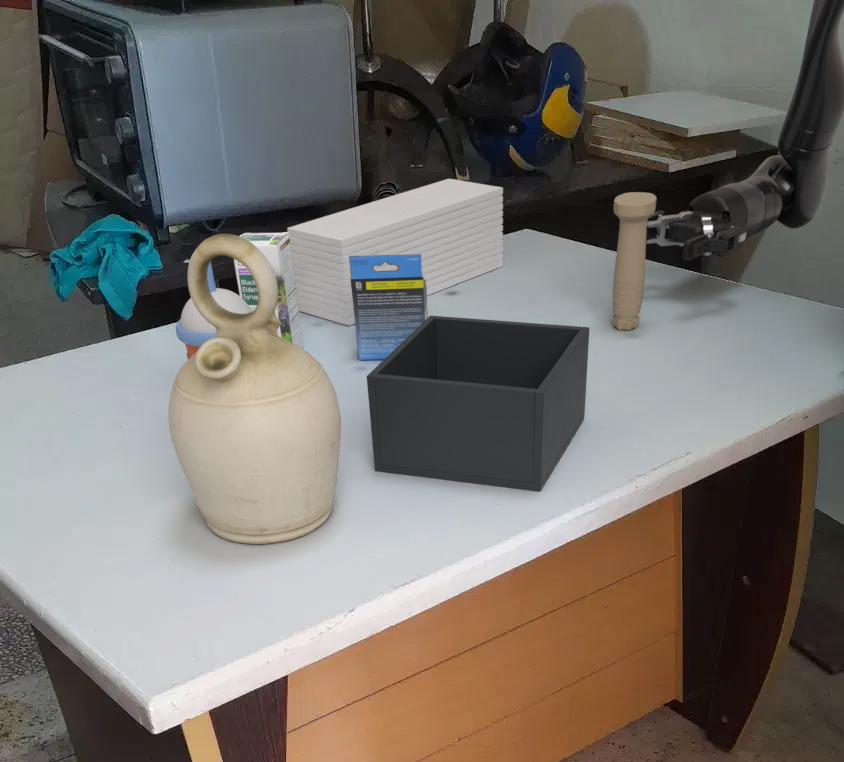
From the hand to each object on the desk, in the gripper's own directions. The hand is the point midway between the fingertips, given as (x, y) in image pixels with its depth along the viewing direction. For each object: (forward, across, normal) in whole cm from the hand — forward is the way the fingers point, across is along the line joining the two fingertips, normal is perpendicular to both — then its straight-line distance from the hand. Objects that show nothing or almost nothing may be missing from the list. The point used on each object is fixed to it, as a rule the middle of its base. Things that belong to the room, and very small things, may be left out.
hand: (656, 246), depth 129 cm
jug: (+68, +2, +9) cm, 68 cm away
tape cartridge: (+30, -18, +9) cm, 36 cm away
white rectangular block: (+11, -36, +9) cm, 38 cm away
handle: (+6, 0, +9) cm, 10 cm away
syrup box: (+41, -29, +9) cm, 50 cm away
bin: (+43, +8, +8) cm, 45 cm away
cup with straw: (+55, -19, +9) cm, 59 cm away
